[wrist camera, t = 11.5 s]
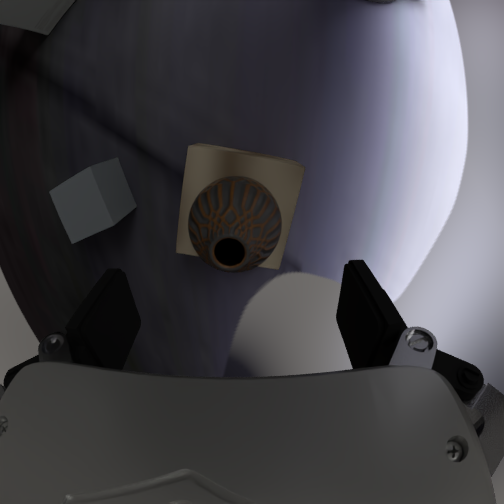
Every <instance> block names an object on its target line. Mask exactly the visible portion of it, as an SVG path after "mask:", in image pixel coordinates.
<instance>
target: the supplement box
mask: <svg viewBox="0 0 504 504" xmlns="http://www.w3.org/2000/svg"><path fill="white" fill-rule="evenodd" d="M74 1H75V0H0V24H4V25H9V26H14V27H18V28H22V29H26V30H30V31H34V32H38V33H41V34H45V35H49V33H50V32H51V31H52V29H53V28H54V27H55V25H56V24H57V23H58V21H59V20H60V19H61V17H62V16H63V15H64V14H65V12H66V11H67V10H68V9H69V7H70V6H71V5H72V4H73V3H74Z"/></svg>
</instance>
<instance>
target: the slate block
mask: <svg viewBox="0 0 504 504" xmlns="http://www.w3.org/2000/svg"><path fill="white" fill-rule="evenodd" d="M50 195H51V197H52V200H53V202H54V205H55V207H56V209H57V212H58V214H59V216H60V219H61V221H62V223H63V225H64V228H65V230H66V232H67V234H68V236H69V238H70V240H71V242H72V244H73V243H75V242H78V241H80V240H82V239H84V238H86V237H89V236H91V235H93V234H95V233H98V232H100V231H102V230H105V229H107V228H109V227H112V226H114V225H115V224H116V223H118V222H119V221H120V220H121V219H122V218H124V217H125V216H126V215H127V214H128V213H130V212H131V211H132V210H133V209H134V208H136V207H137V205H136V203H135V201H134V198H133V196H132V193H131V191H130V188H129V186H128V183H127V181H126V178H125V176H124V173H123V170H122V168H121V165H120V162H119V160H118V157H117V158H114V159H111V160H108V161H105V162H102V163H98V164H95V165H93V166H90V167H88V168H86V169H85V170H83V171H81V172H80V173H78V174H76V175H75V176H73V177H71V178H70V179H68V180H67V181H65V182H63V183H62V184H60V185H59V186H57V187H56V188H54V189H53V190H51V191H50Z"/></svg>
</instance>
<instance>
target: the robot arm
mask: <svg viewBox="0 0 504 504" xmlns="http://www.w3.org/2000/svg"><path fill="white" fill-rule="evenodd" d="M367 1H373V2H384V3H385V2H392V1H395V0H367ZM336 320H337V324H338V326H339V329H340V332H341V335H342V338H343V341H344V343H345V347H346V350H347V352H348V355H349V358H350V361H351V365H352V368H353V369H350V370H342V371H334V372H324V373H313V374H301V375H288V376H268V377H196V376H177V375H163V374H151V373H141V372H132V371H124V370H122V369H123V366H124V364H125V361H126V359H127V357H128V354H129V352H130V349H131V347H132V345H133V342H134V340H135V337H136V335H137V333H138V330H139V328H140V325H141V319H140V316H139V313H138V311H137V308H136V305H135V302H134V299H133V296H132V293H131V290H130V287H129V284H128V280H127V277H126V274H125V272H122V270H121V269H119V268H117V269H107V270H106V272H105V273H104V274H103V276H102V277H101V278H100V279H99V281H98V282H97V283H96V285H95V286H94V287H93V289H92V290H91V291H90V293H89V294H88V295H87V297H86V298H85V300H84V301H83V302H82V304H81V305H80V307H79V308H78V309H77V311H76V312H75V314H74V315H73V317H72V318H71V319H70V321H69V322H68V324H67V325H66V327H65V328H66V330H67V334H66V335H65V334H64V333H61V332H54V333H51V334H49V335H47V336H46V337H45V338H43V339H42V341H41V342H40V344H39V348H38V351H39V355H37V356H35V357H33V358H31V359H29V360H27V361H25V362H23V363H21V364H19V365H17V366H15V367H13V368H11V369H10V370H8V372H7V373H6V375H5V378H4V386H2V385H1V384H0V504H496V499H495V494H494V489H493V485H492V480H491V477H492V475H493V473H494V472H495V470H496V468H497V467H498V465H499V463H500V461H501V460H502V458H503V456H504V395H503V394H502V393H501V392H499V391H498V390H497V389H495V388H494V387H493V386H492V385H490V384H489V383H488V384H487V385H485V384H484V378H483V375H482V373H481V371H480V370H479V369H478V368H477V367H476V366H474V365H473V364H470V363H468V362H466V361H463V360H461V359H459V358H456V357H454V356H452V355H449V354H447V353H445V352H442V351H440V350H438V349H437V341H436V338H435V336H434V335H433V334H432V333H431V332H430V331H428V330H426V329H424V328H421V327H410V328H408V327H407V326H406V324H405V322H404V321H403V319H402V318H401V316H400V314H399V313H398V311H397V309H396V307H395V306H394V304H393V303H392V301H391V299H390V298H389V296H388V295H387V293H386V292H385V290H384V289H382V287H381V286H380V284H379V283H378V281H377V280H376V278H375V277H374V275H373V274H372V272H371V271H370V269H369V268H368V266H367V265H366V263H365V262H364V260H350V261H349V263H348V264H345V266H344V271H343V278H342V284H341V291H340V297H339V303H338V309H337V314H336Z"/></svg>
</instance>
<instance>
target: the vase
mask: <svg viewBox="0 0 504 504" xmlns="http://www.w3.org/2000/svg"><path fill="white" fill-rule="evenodd" d="M281 229H282V218H281V212H280V209H279V206H278V204H277V201H276V199H275V198H274V196H273V195H272V193H271V192H270V191H269V190H268V189H267V188H266V187H265V186H264V185H263V184H261V183H260V182H258V181H256V180H254V179H252V178H248V177H244V176H227V177H223V178H220V179H217V180H215V181H213V182H212V183H210V184H209V185H207V186H206V187H205V188H204V189H203V190H202V191H201V192H200V193H199V194H198V196H197V197H196V199H195V200H194V202H193V204H192V206H191V209H190V213H189V218H188V232H189V237H190V240H191V243H192V246H193V248H194V250H195V251H196V253H197V254H198V255H199V257H200V258H201V259H202V260H203V261H204V262H205V263H207V264H208V265H210V266H211V267H213V268H215V269H218V270H221V271H224V272H232V273H236V272H244V271H248V270H251V269H253V268H255V267H257V266H259V265H260V264H262V263H263V262H264V261H265V260H266V259H267V258H268V257H269V256H270V255H271V254H272V252H273V251H274V249H275V247H276V246H277V243H278V241H279V238H280V235H281Z"/></svg>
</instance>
